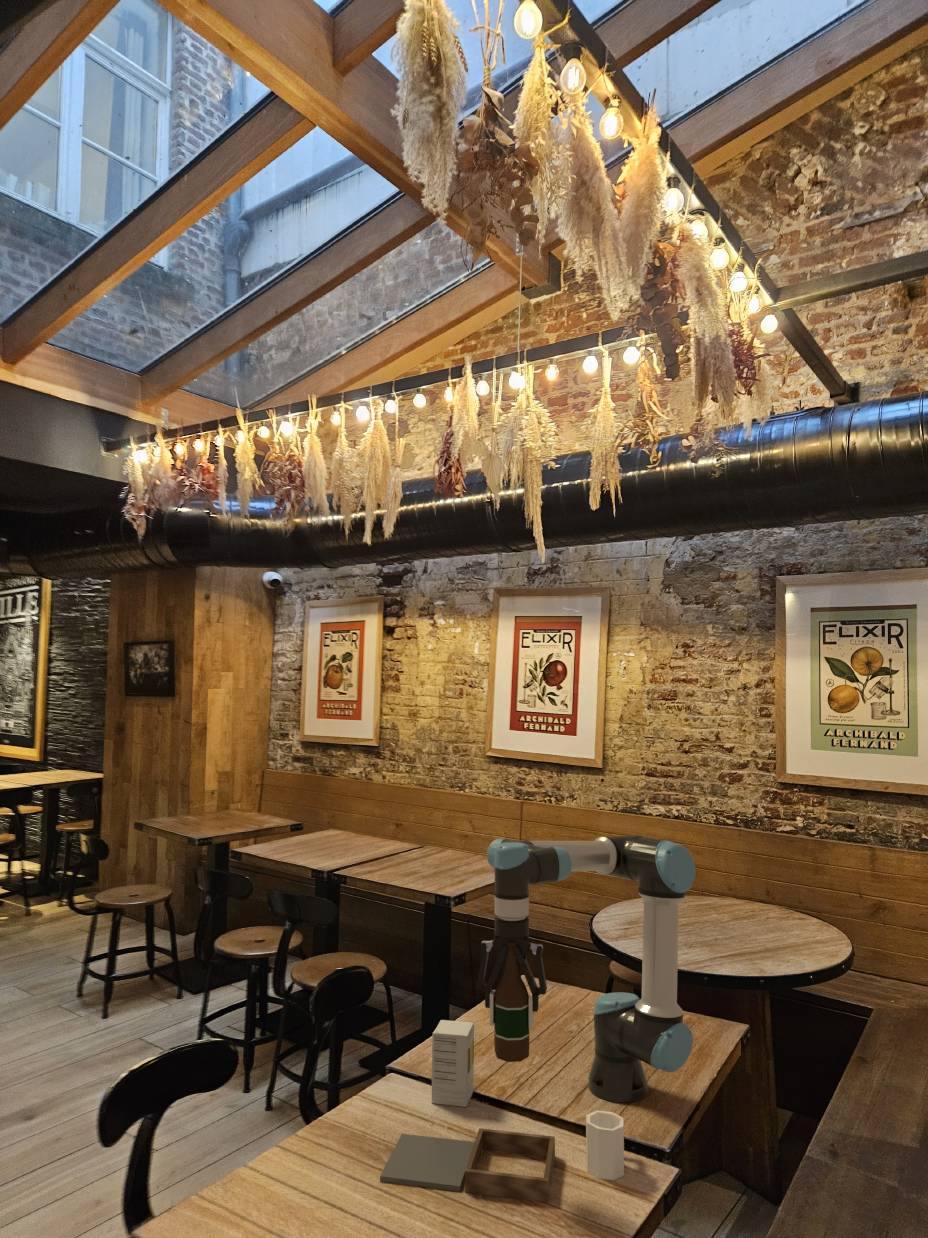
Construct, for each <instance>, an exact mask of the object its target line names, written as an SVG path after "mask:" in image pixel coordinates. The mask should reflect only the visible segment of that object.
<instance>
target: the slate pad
mask: <svg viewBox="0 0 928 1238" xmlns="http://www.w3.org/2000/svg"><path fill="white" fill-rule="evenodd" d="M474 1142H475V1141H471V1140H462V1139H461V1140H460V1139H454V1138H442V1137H437V1136H436V1137H435V1136H425V1135H417V1134H416V1135H415V1134H411V1133H410V1134H409V1133H401V1134H400V1136H399V1138H398V1140H397V1142H396V1144H395V1146H394V1148H393V1150H392V1152H391V1154H390V1156H389V1158H388V1159H387V1162H386V1163H385V1166H384V1168H383V1170H382V1171H381V1174H380V1176H379V1182H382V1183H383V1182H384V1183H391V1184H399V1185H406V1186H414V1187H421V1188H422V1187H423V1188H430V1189H431V1188H432V1189H438V1190H447V1191H454V1192H461V1189H462V1187H463V1183H464V1182H465V1169H466V1166H467V1163H468V1160H469V1157H470V1154H471V1151H472V1148H473V1145H474Z"/></svg>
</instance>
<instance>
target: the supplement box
mask: <svg viewBox="0 0 928 1238" xmlns="http://www.w3.org/2000/svg"><path fill="white" fill-rule="evenodd" d="M431 1036H432V1037H431V1040H432V1041H431V1043H432V1044H431V1056H432V1057H431V1061H432V1062H431V1103H432V1104H436V1105H447V1106H454V1107H463V1108H467V1106H468V1105H469V1102H470V1101H471V1098H472V1096H473V1093H474V1088H475V1087H474V1084H475V1081H474V1080H475V1079H474V1078H475V1075H474V1073H475V1071H474V1070H475V1066H474V1065H475V1061H474V1060H475V1023H474V1022H470V1021H458V1020H457V1021H456V1020H450V1019H449V1020H447V1019H440V1021H439V1022H438V1024H437V1026H436V1028H435V1029H434V1031H433V1032H432V1035H431Z"/></svg>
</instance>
